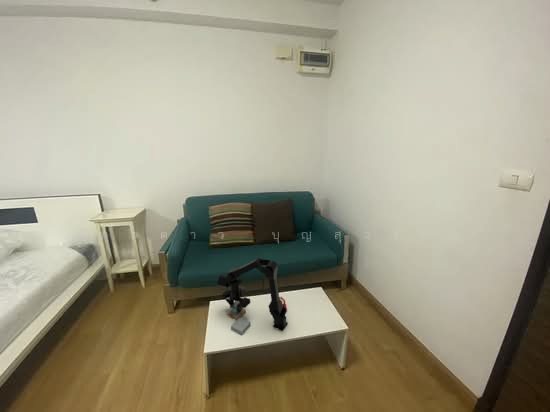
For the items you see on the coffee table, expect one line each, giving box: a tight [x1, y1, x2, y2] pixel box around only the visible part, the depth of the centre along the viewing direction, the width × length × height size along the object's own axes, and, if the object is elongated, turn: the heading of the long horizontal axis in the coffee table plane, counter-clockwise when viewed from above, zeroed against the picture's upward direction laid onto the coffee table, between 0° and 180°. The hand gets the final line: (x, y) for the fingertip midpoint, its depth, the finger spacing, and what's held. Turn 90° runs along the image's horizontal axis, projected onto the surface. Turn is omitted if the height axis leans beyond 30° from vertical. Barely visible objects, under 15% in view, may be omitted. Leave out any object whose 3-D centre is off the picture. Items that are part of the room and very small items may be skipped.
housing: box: [229, 301, 243, 316], centre depth 141 cm, size 5×7×5 cm
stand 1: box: [227, 308, 247, 322], centre depth 142 cm, size 8×8×2 cm
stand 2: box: [230, 317, 252, 336], centre depth 132 cm, size 8×8×2 cm
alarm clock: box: [279, 296, 288, 310], centre depth 147 cm, size 10×6×15 cm
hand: (236, 310), depth 142 cm, fingers closed on housing, 5 cm apart
